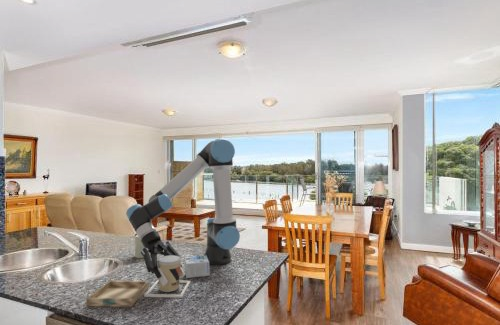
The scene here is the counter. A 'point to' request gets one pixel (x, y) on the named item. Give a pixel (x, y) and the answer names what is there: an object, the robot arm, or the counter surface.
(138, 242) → the can
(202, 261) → the light bulb box
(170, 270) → the coffee cup
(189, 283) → the white flat square frame
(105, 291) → the wooden tray
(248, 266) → the counter surface
